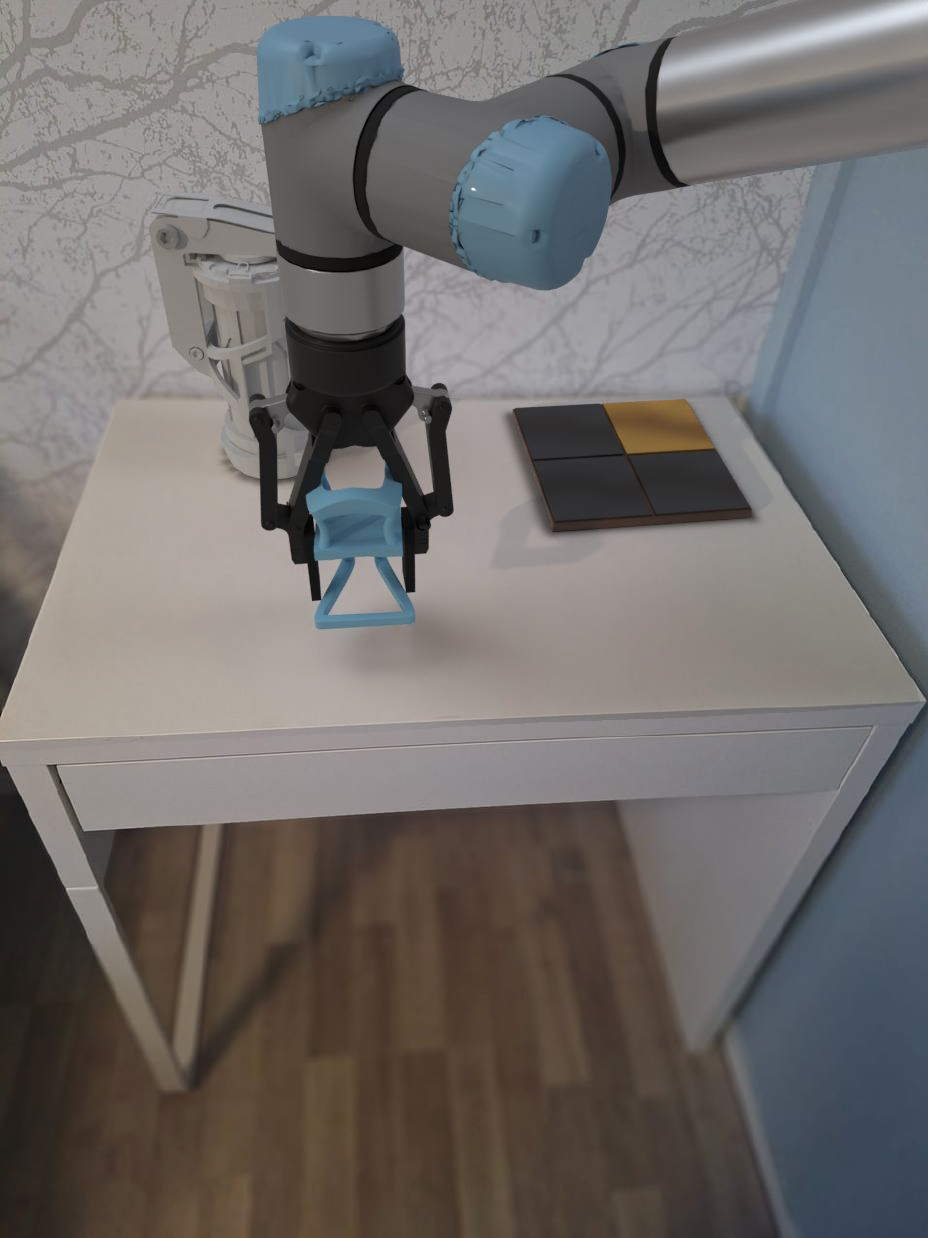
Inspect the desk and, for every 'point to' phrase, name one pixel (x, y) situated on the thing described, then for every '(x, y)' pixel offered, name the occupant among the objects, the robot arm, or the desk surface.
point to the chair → (359, 545)
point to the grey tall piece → (228, 311)
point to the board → (626, 465)
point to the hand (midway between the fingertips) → (362, 584)
